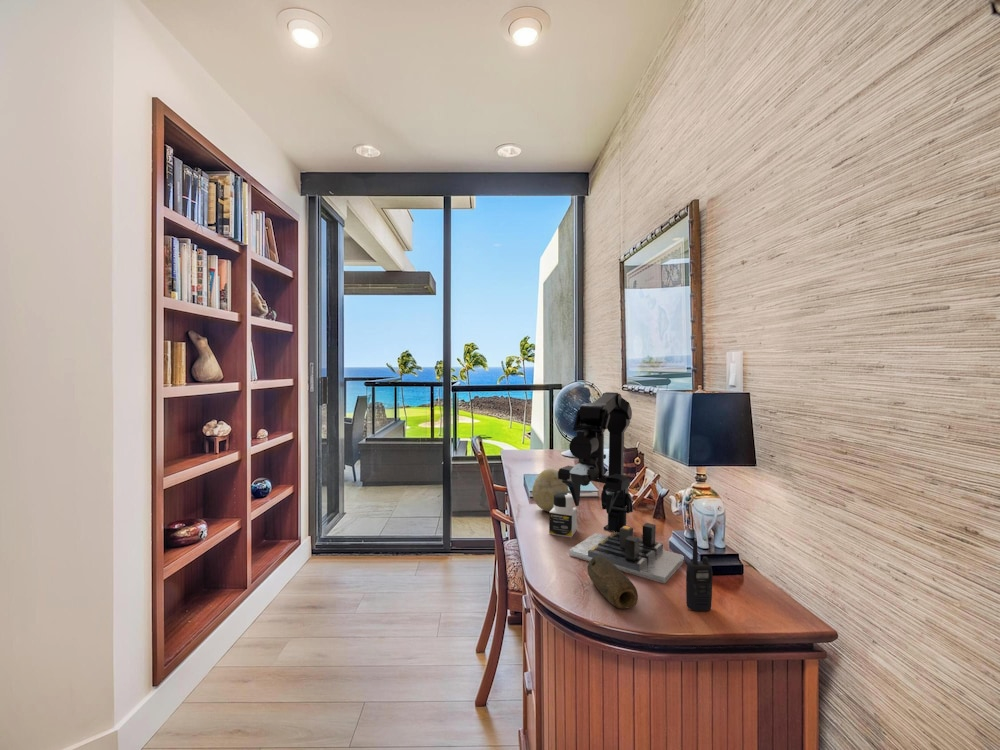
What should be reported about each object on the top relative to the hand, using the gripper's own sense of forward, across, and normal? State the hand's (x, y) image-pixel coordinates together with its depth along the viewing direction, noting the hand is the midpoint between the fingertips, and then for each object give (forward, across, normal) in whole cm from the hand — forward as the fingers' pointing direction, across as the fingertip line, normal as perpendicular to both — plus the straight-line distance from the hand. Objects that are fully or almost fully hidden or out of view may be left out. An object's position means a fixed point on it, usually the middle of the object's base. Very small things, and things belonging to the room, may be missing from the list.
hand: (592, 509), depth 123 cm
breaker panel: (+14, +7, +7) cm, 17 cm away
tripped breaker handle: (+11, +7, +7) cm, 14 cm away
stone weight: (+14, +12, -14) cm, 23 cm away
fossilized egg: (+14, -31, +27) cm, 43 cm away
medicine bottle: (+14, -16, +12) cm, 25 cm away
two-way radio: (+14, +29, -7) cm, 33 cm away
